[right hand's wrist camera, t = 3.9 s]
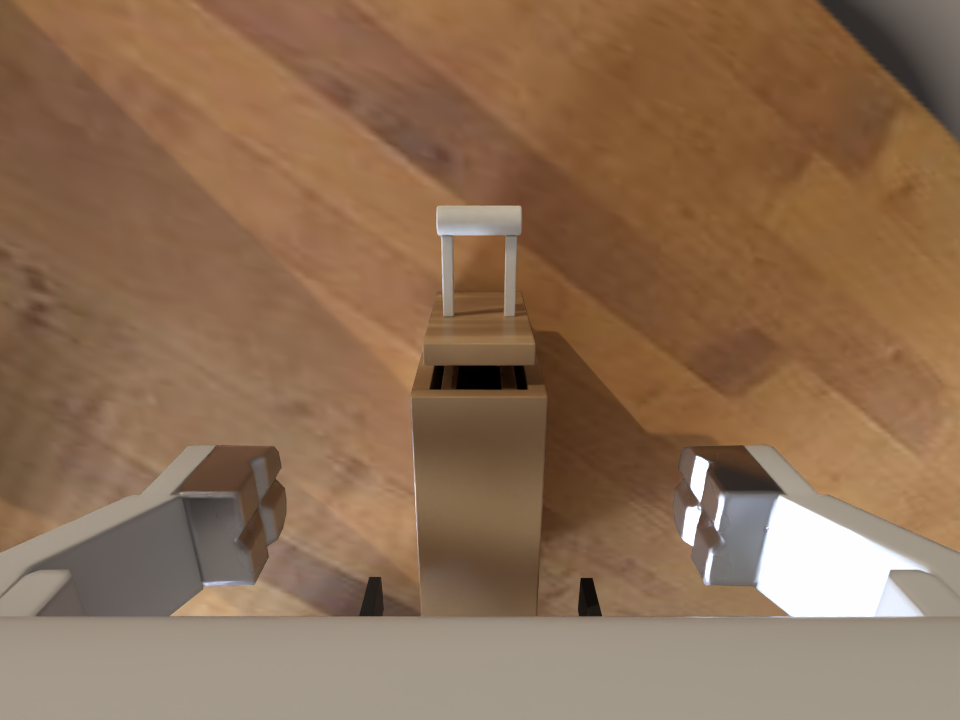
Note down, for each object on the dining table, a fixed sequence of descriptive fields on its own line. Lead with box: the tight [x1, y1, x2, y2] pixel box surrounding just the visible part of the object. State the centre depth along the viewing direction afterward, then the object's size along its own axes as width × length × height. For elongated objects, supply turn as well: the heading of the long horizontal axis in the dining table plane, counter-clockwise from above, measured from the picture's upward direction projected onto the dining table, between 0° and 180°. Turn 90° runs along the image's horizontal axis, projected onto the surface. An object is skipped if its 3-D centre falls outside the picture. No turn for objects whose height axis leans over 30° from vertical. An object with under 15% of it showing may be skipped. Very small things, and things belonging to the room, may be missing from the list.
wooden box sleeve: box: [410, 351, 548, 616], centre depth 36 cm, size 20×7×12 cm, turn 0°
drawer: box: [422, 206, 536, 390], centre depth 33 cm, size 24×6×10 cm, turn 0°
